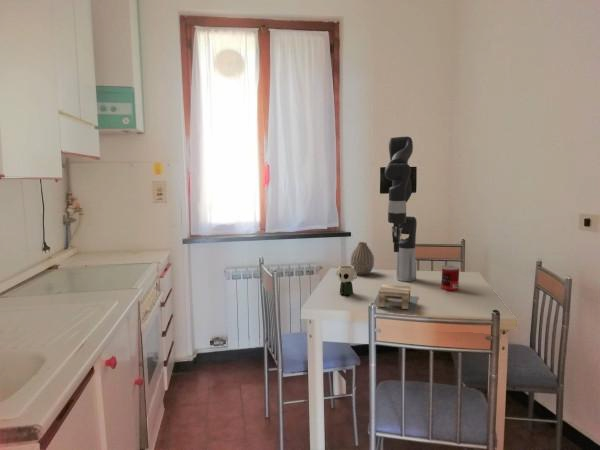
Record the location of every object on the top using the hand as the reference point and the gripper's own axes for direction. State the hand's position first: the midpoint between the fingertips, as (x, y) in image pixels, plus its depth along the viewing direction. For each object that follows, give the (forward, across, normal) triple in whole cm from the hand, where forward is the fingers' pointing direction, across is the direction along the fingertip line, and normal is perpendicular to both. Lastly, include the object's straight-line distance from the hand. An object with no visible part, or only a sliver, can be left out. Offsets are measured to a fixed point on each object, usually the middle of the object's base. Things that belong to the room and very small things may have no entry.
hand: (396, 251), depth 189 cm
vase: (+23, -50, -23) cm, 60 cm away
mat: (+23, 0, 0) cm, 23 cm away
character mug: (+23, -8, -23) cm, 34 cm away
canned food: (+23, -30, +23) cm, 44 cm away
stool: (+19, -2, 0) cm, 19 cm away
